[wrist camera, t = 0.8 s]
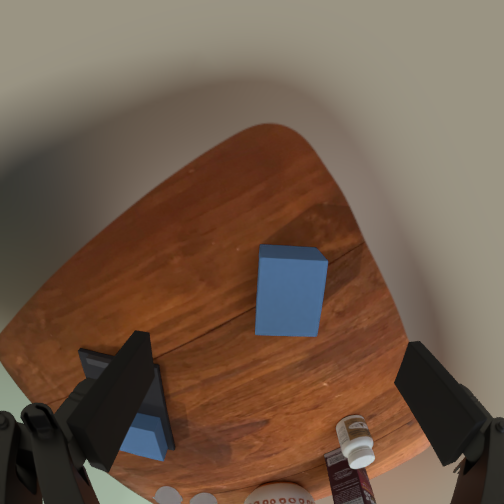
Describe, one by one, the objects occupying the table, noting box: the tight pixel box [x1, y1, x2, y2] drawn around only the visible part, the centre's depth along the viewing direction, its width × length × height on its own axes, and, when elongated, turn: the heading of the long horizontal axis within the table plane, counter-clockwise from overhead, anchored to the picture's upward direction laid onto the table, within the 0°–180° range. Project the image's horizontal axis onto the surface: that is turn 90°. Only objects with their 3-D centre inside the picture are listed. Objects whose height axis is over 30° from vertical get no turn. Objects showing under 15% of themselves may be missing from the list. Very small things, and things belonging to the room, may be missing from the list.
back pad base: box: [78, 348, 175, 461], centre depth 31 cm, size 18×12×4 cm, turn 177°
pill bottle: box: [336, 415, 375, 469], centre depth 29 cm, size 4×4×8 cm
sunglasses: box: [152, 486, 217, 504], centre depth 38 cm, size 14×8×5 cm, turn 87°
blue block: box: [255, 244, 328, 337], centre depth 25 cm, size 7×6×5 cm
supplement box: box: [324, 448, 376, 504], centre depth 27 cm, size 9×5×16 cm, turn 32°
